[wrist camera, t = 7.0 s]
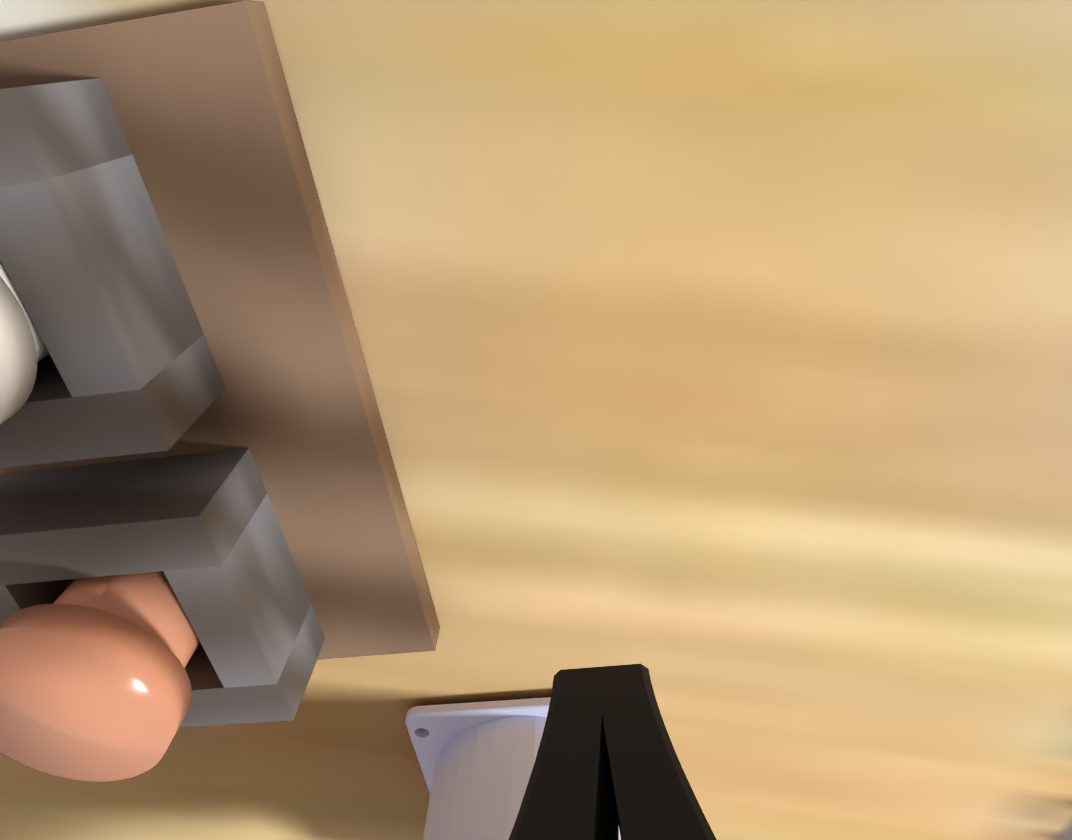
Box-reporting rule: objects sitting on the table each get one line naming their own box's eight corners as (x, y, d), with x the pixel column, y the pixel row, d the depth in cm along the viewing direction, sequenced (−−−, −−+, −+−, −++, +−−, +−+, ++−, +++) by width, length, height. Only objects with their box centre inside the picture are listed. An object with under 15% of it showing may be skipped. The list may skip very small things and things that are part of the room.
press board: (439, 627, 23) (418, 733, 20) (50, 657, 24) (-34, 762, 21) (263, 2, 14) (168, -7, 11) (-328, 100, 16) (-582, 122, 12)
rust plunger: (265, 637, 21) (198, 776, 17) (116, 649, 21) (18, 786, 17) (206, 509, 18) (114, 636, 15) (40, 526, 19) (-92, 652, 15)
